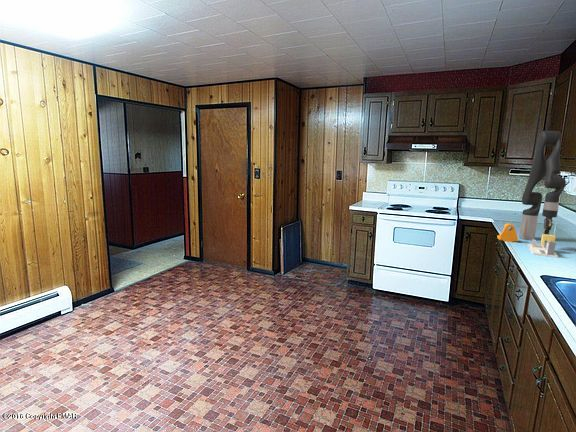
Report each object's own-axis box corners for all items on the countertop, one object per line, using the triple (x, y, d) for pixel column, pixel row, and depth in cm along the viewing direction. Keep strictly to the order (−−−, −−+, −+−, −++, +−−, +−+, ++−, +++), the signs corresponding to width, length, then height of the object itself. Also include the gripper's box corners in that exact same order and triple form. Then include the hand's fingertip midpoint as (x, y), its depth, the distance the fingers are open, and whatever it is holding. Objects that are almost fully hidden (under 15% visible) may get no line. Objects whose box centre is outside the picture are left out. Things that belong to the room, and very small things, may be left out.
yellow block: (540, 243, 217) (542, 233, 216) (552, 244, 214) (554, 235, 213) (541, 245, 212) (543, 235, 211) (553, 246, 210) (555, 236, 209)
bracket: (514, 240, 240) (516, 223, 238) (517, 242, 234) (520, 225, 231) (496, 238, 244) (498, 221, 241) (499, 241, 237) (501, 223, 235)
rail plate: (527, 245, 227) (529, 232, 225) (549, 247, 222) (551, 235, 220) (532, 254, 206) (534, 240, 205) (557, 257, 201) (560, 243, 199)
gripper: (560, 211, 208) (555, 239, 212) (555, 208, 220) (551, 234, 223) (545, 209, 212) (540, 237, 215) (541, 207, 223) (537, 233, 226)
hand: (546, 236), depth 219 cm, fingers closed
